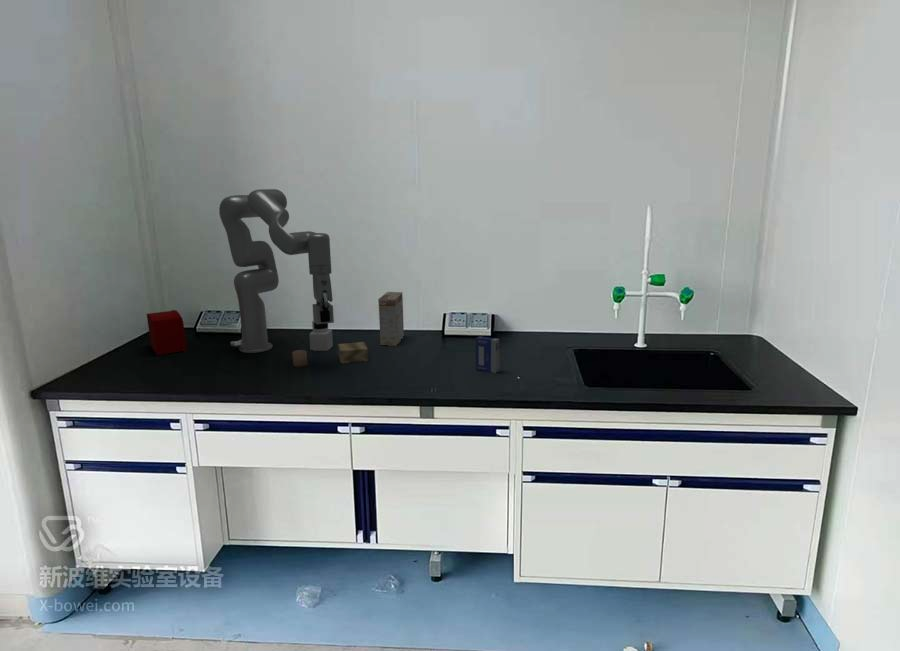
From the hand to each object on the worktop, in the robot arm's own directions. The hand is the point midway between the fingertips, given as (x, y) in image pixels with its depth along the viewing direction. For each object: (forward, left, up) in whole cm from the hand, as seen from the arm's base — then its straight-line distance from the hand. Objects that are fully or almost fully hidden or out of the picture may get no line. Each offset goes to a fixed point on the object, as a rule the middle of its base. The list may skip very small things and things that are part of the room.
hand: (323, 319), depth 204 cm
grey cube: (0, 0, -1) cm, 1 cm away
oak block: (+11, +4, -18) cm, 21 cm away
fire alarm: (-53, +49, -18) cm, 74 cm away
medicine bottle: (+3, +23, -18) cm, 29 cm away
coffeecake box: (+32, +21, -18) cm, 42 cm away
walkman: (+50, -30, -18) cm, 61 cm away
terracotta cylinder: (-8, +5, -17) cm, 20 cm away
